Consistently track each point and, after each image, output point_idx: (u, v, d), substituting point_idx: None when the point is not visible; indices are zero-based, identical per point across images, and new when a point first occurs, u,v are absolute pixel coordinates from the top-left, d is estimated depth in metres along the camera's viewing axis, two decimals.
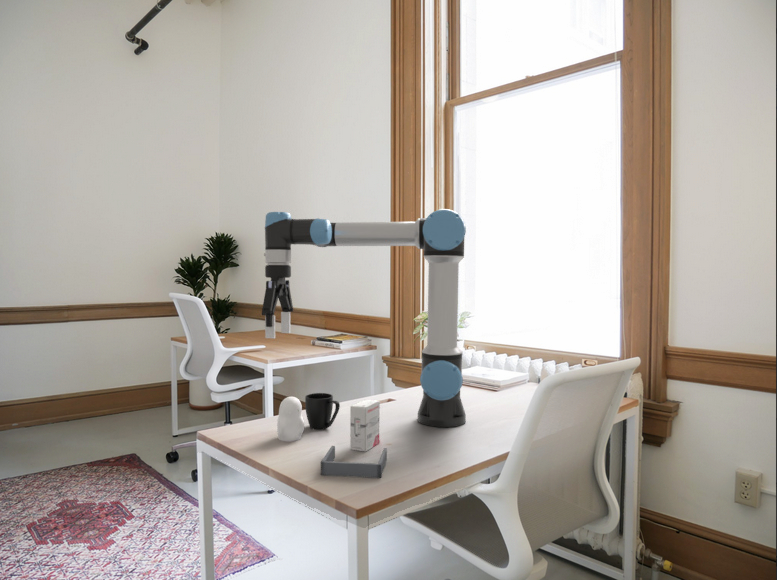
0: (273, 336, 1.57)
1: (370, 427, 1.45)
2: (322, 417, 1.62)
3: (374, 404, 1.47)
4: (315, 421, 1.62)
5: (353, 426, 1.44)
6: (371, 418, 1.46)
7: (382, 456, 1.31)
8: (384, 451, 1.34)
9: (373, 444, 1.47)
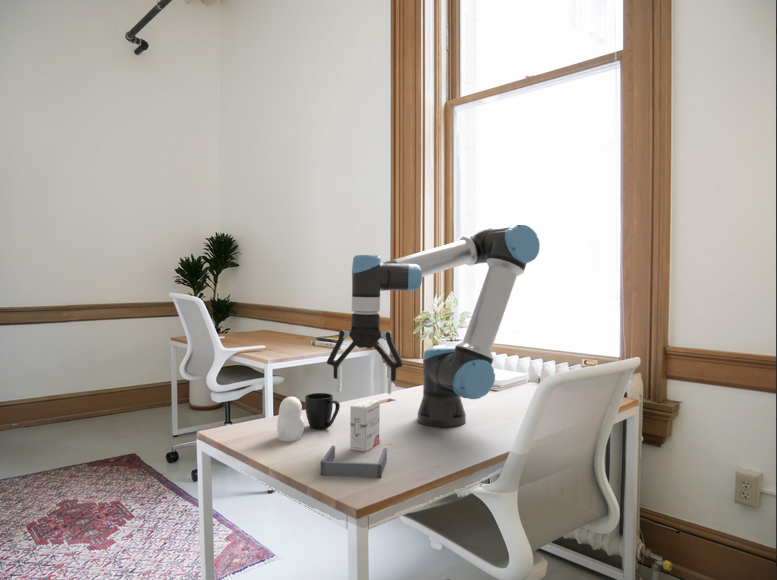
0: None
1: (370, 427, 1.45)
2: (322, 417, 1.62)
3: (374, 404, 1.47)
4: (315, 421, 1.62)
5: (353, 426, 1.44)
6: (371, 418, 1.46)
7: (382, 456, 1.31)
8: (384, 451, 1.34)
9: (373, 444, 1.47)
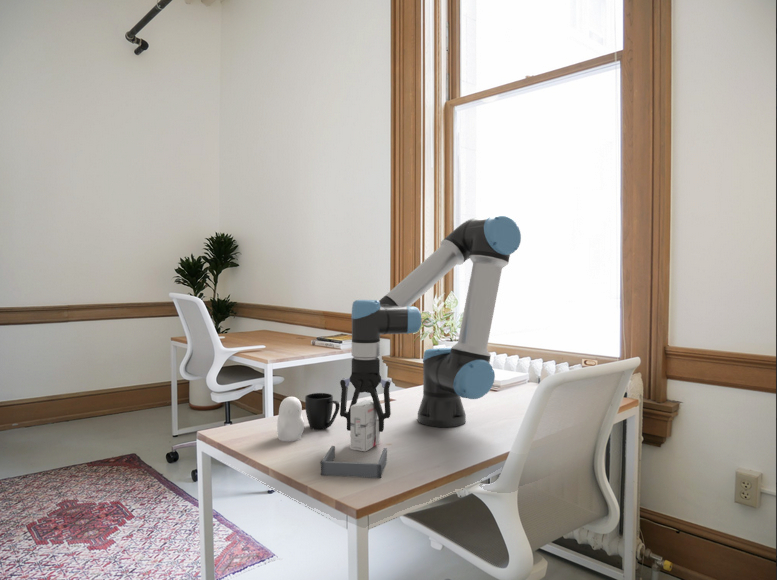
0: None
1: (370, 427, 1.45)
2: (322, 417, 1.62)
3: None
4: (315, 421, 1.62)
5: (353, 426, 1.44)
6: (371, 418, 1.46)
7: (382, 456, 1.31)
8: (384, 451, 1.34)
9: (373, 444, 1.47)
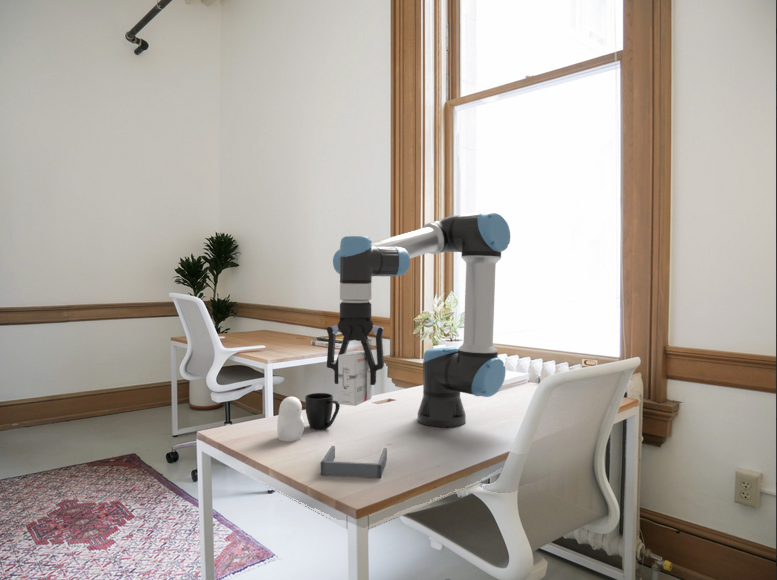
0: None
1: (361, 379, 1.29)
2: (322, 417, 1.62)
3: None
4: (315, 421, 1.62)
5: (341, 377, 1.28)
6: (362, 369, 1.29)
7: (382, 456, 1.31)
8: (384, 451, 1.34)
9: (364, 399, 1.31)
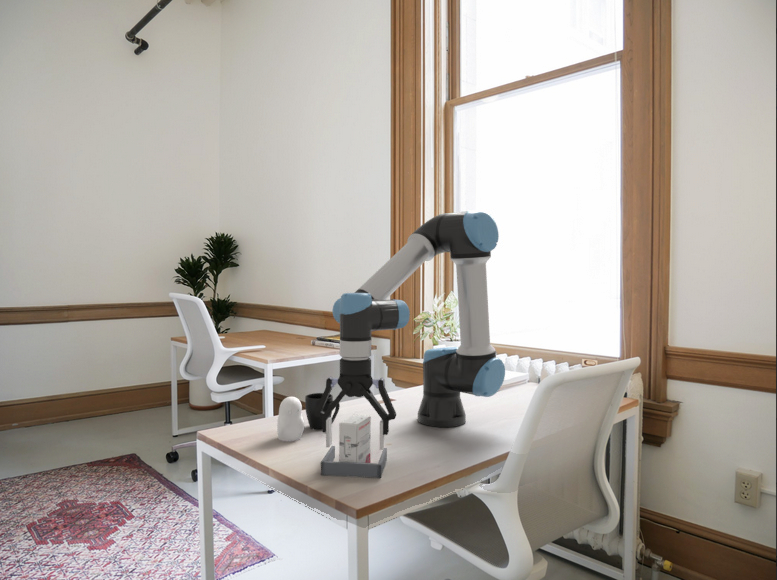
0: None
1: (362, 446, 1.29)
2: None
3: (365, 420, 1.32)
4: (315, 421, 1.62)
5: (342, 445, 1.28)
6: (363, 436, 1.30)
7: (382, 456, 1.31)
8: (384, 451, 1.34)
9: None
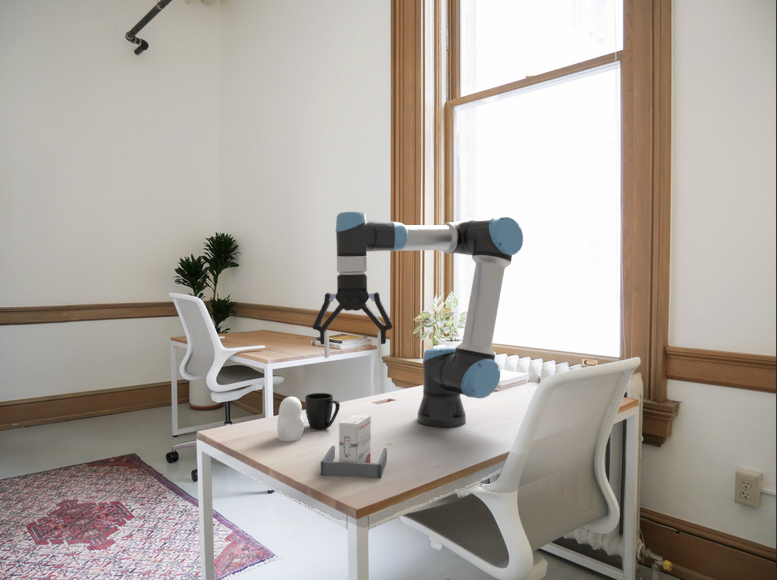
0: (325, 355, 1.39)
1: (362, 446, 1.29)
2: (322, 417, 1.62)
3: (365, 420, 1.32)
4: (315, 421, 1.62)
5: (342, 445, 1.28)
6: (363, 436, 1.30)
7: (382, 456, 1.31)
8: (384, 451, 1.34)
9: None
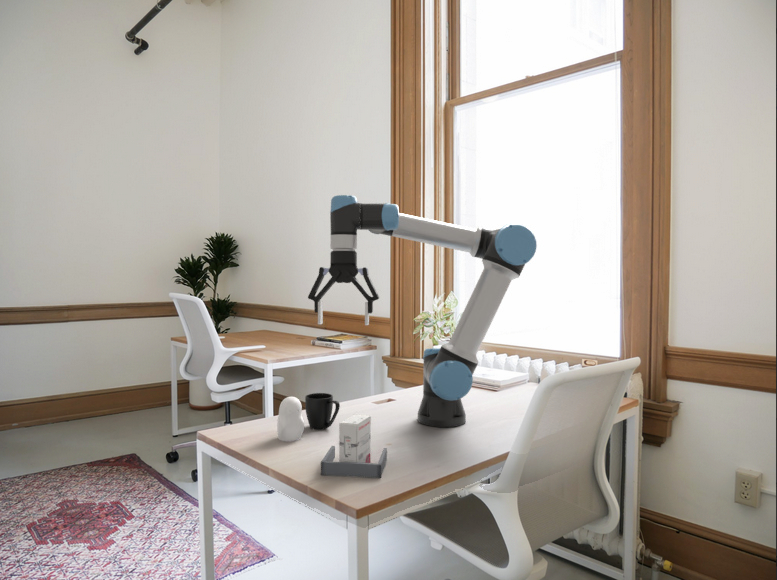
0: (318, 322, 1.57)
1: (362, 446, 1.29)
2: (322, 417, 1.62)
3: (365, 420, 1.32)
4: (315, 421, 1.62)
5: (342, 445, 1.28)
6: (363, 436, 1.30)
7: (382, 456, 1.31)
8: (384, 451, 1.34)
9: None
